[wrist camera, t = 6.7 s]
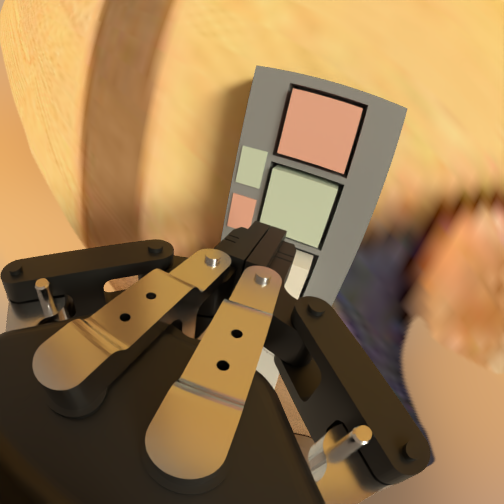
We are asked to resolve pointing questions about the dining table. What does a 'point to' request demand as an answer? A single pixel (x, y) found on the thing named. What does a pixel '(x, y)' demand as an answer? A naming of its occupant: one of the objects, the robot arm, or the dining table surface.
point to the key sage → (299, 203)
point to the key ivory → (298, 273)
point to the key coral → (319, 130)
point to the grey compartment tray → (314, 170)
